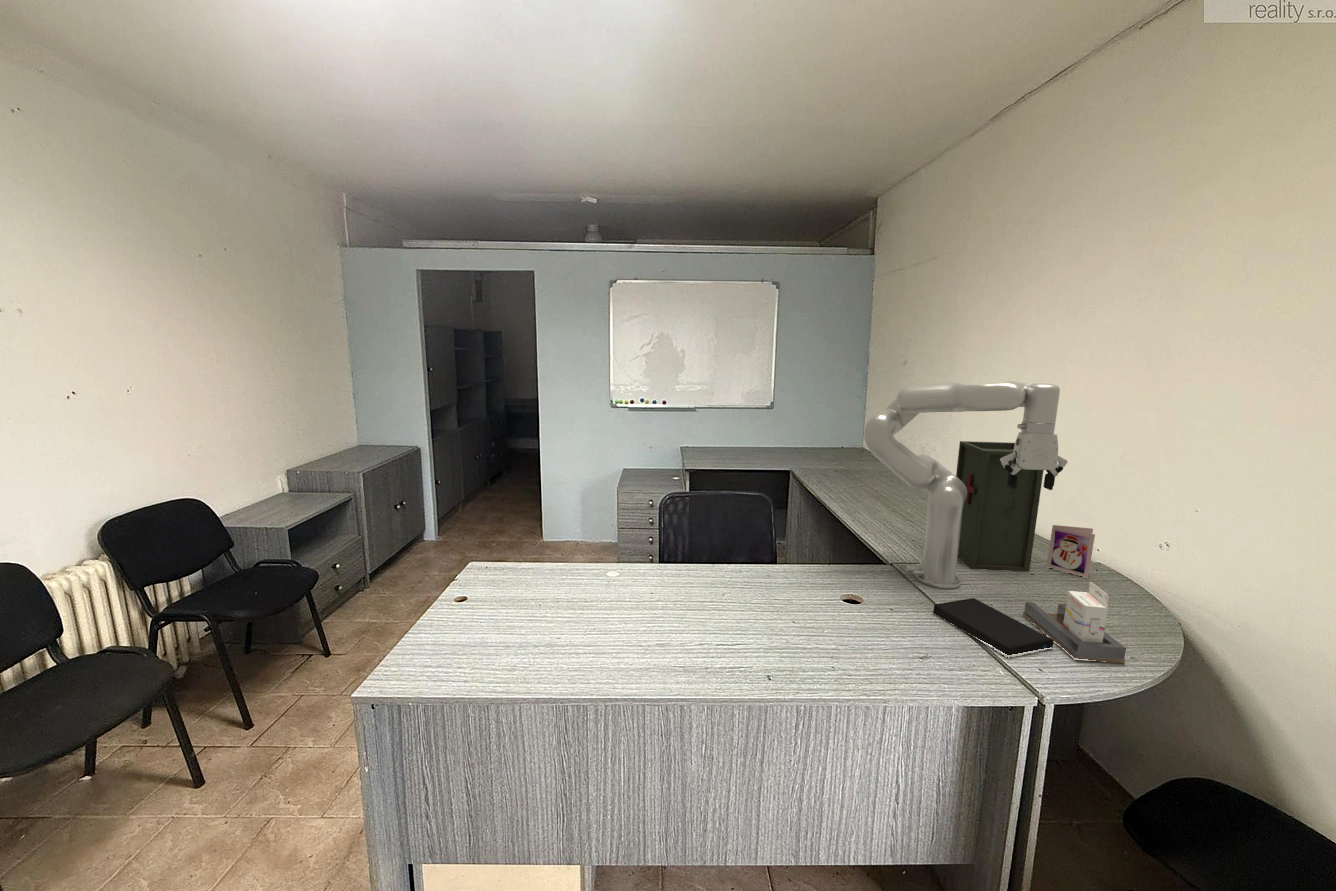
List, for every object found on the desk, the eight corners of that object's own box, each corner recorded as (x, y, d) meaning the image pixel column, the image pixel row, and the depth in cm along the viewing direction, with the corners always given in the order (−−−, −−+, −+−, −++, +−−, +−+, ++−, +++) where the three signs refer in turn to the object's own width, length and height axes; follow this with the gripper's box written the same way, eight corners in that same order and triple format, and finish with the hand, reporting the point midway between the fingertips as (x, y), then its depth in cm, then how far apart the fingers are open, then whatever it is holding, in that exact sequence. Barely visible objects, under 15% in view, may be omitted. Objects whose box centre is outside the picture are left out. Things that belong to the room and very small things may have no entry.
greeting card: (1045, 568, 182) (1051, 525, 179) (1053, 563, 186) (1059, 521, 183) (1086, 579, 173) (1094, 535, 170) (1093, 574, 177) (1101, 530, 175)
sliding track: (1074, 660, 127) (1077, 645, 127) (1022, 615, 149) (1024, 601, 148) (1124, 663, 126) (1127, 648, 126) (1065, 617, 148) (1067, 604, 147)
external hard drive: (973, 607, 154) (974, 597, 153) (1052, 650, 132) (1054, 639, 132) (933, 614, 150) (934, 604, 149) (1007, 660, 128) (1009, 648, 127)
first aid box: (947, 548, 198) (959, 441, 191) (1000, 551, 197) (1015, 442, 189) (970, 569, 180) (984, 451, 173) (1029, 571, 178) (1046, 452, 171)
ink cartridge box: (1060, 633, 138) (1068, 578, 135) (1081, 635, 137) (1090, 580, 134) (1078, 651, 130) (1088, 593, 127) (1102, 653, 129) (1111, 595, 126)
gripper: (1012, 429, 147) (1004, 490, 151) (1079, 431, 146) (1070, 492, 149) (998, 425, 155) (991, 483, 158) (1062, 427, 153) (1053, 486, 156)
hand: (1029, 488), depth 153 cm, fingers open, 9 cm apart
